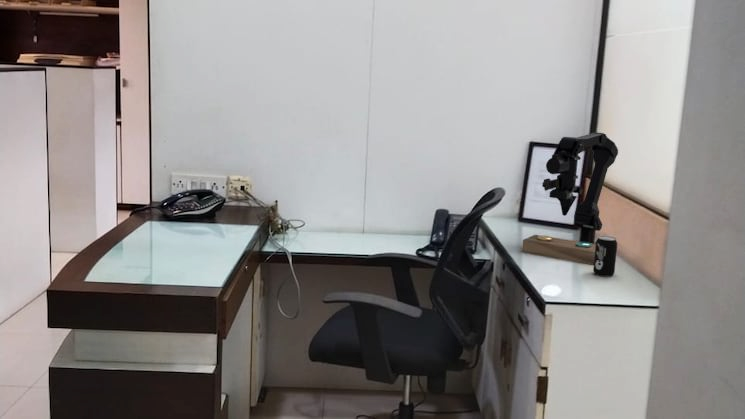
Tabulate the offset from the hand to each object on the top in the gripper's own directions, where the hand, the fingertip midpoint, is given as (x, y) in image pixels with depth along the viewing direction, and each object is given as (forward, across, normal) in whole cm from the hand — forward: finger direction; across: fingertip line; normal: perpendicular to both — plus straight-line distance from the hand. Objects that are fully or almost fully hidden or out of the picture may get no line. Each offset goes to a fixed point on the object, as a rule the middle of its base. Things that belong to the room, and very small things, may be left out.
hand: (564, 215), depth 268 cm
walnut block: (+13, +7, +3) cm, 15 cm away
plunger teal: (+13, +7, +10) cm, 18 cm away
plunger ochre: (+13, +7, -4) cm, 15 cm away
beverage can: (+13, +23, +22) cm, 34 cm away
